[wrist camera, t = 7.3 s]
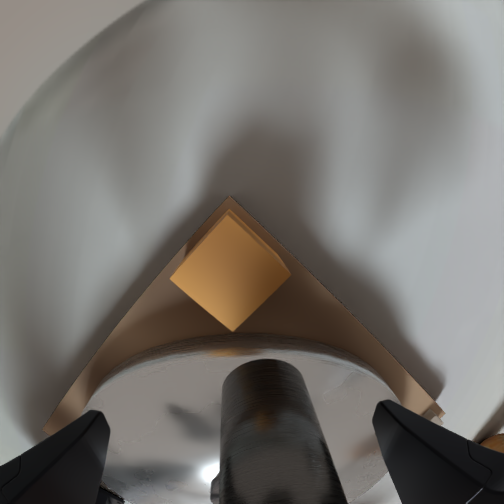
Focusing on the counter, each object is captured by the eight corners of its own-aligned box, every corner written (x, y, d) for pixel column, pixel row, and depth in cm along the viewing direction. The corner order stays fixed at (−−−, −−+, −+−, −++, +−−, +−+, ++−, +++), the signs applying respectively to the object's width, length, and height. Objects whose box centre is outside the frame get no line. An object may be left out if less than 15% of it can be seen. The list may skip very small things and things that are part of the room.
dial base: (249, 517, 17) (251, 548, 13) (50, 417, 13) (28, 451, 10) (435, 402, 15) (462, 433, 11) (229, 195, 11) (227, 197, 7)
